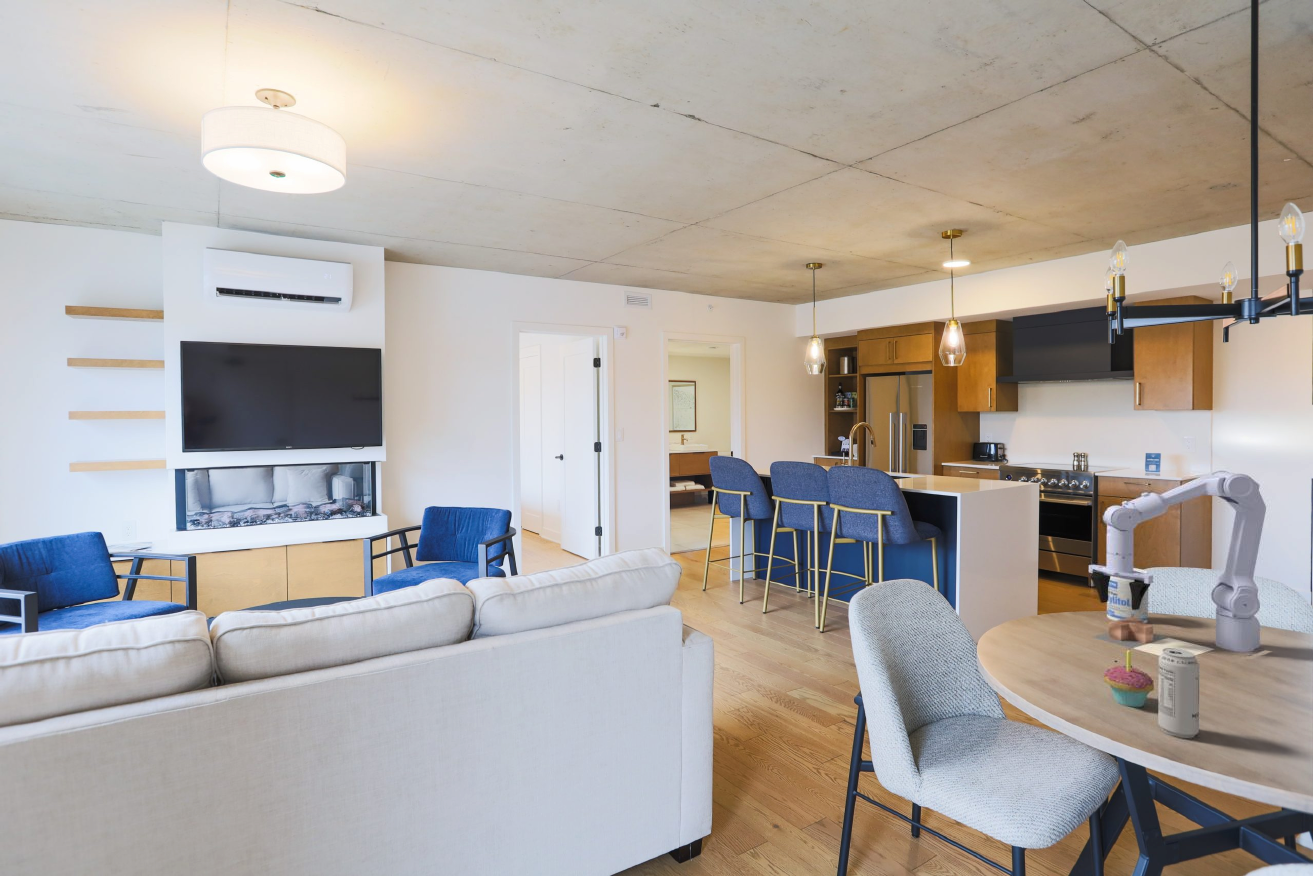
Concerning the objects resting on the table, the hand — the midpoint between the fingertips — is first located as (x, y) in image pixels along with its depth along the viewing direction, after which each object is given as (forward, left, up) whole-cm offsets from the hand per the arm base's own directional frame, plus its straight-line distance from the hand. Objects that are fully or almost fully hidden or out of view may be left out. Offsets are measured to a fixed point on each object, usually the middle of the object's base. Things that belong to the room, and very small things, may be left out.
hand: (1119, 605), depth 176 cm
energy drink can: (+42, +34, -10) cm, 54 cm away
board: (-4, +5, -10) cm, 12 cm away
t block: (-4, +1, -9) cm, 10 cm away
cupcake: (+36, +22, -10) cm, 43 cm away
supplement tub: (-20, -9, -10) cm, 25 cm away
